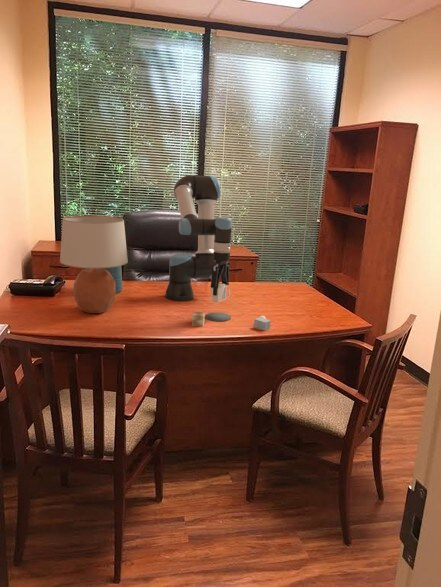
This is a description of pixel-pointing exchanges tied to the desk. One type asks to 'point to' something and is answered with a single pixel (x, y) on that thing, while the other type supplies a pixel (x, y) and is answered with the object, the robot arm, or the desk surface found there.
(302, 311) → the desk surface
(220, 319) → the coaster
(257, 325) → the greyblue block
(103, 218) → the lamp
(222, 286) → the cup
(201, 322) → the birch block
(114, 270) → the vase
